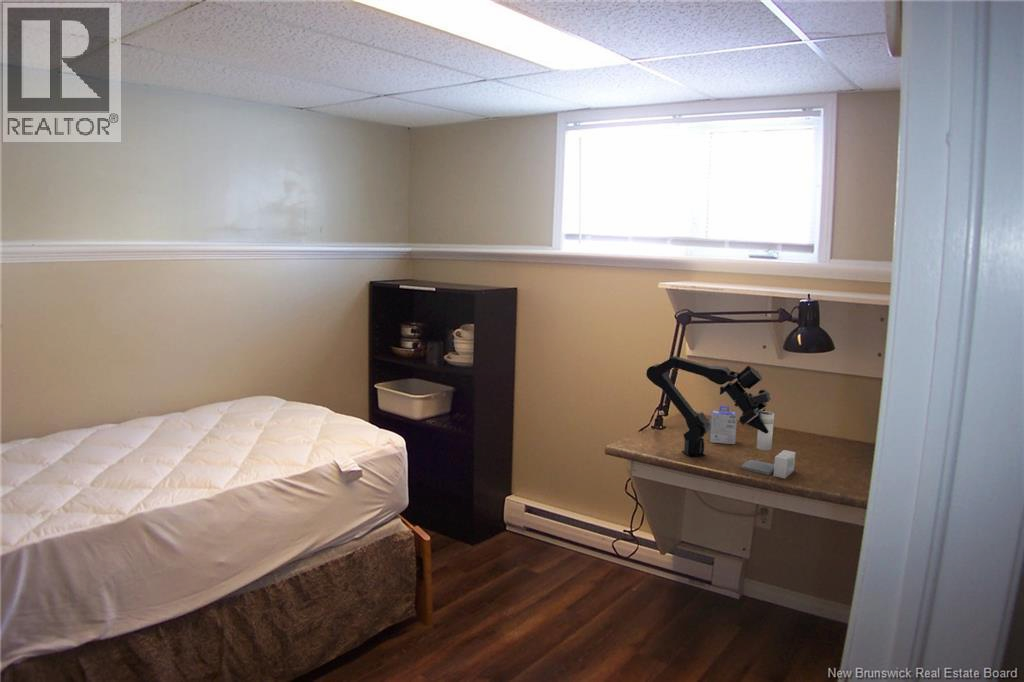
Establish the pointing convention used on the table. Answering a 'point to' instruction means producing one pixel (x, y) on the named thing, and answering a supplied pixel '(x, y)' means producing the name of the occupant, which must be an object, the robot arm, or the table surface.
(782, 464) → the block
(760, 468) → the dock mat
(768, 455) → the table surface
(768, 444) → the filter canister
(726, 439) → the ink cartridge box
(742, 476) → the table surface
